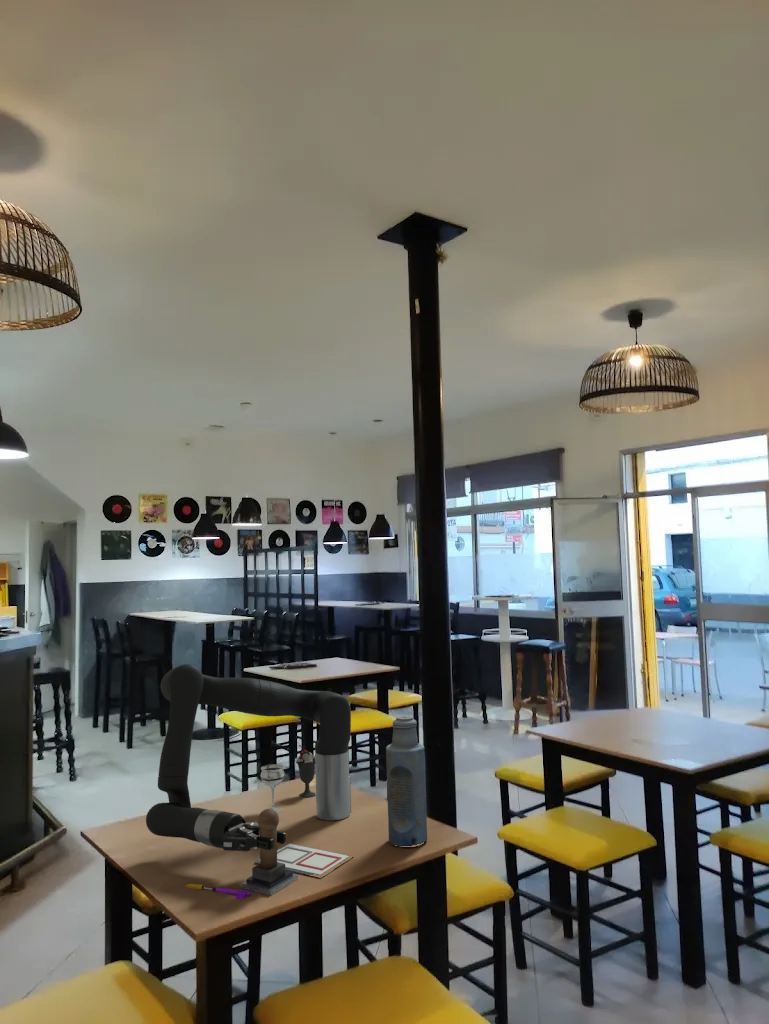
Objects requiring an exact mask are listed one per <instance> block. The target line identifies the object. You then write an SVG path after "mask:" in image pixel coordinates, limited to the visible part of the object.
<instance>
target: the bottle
mask: <svg viewBox="0 0 769 1024" xmlns="http://www.w3.org/2000/svg"><path fill="white" fill-rule="evenodd" d="M417 726H418V725H417V720H416V719H414V716H410V715H400V716H396V718H395V720H393V721H392V730H393V731H392V739H391V743H390V744H388V745H387V746H386V747H385V755H386V756H385V759H386V760H385V761H386V788H387V789H386V792H387V797H386V798H387V816H388V817H387V819H388V820H387V821H388V826H387V828H388V842H389V843H391V844H390V845H392V844H393V845H397V846H412V845H417V844H421V843H423V842H425V841H426V840H427V841H428V821H427V820H428V819H427V818H428V817H427V794H426V793H427V792H426V791H427V790H426V757H425V756H426V755H425V754H426V753H425V746H424V744H421V743H419V740H418V739H419V738H418V734H417V733H418V732H417ZM393 845H392V846H393Z"/></svg>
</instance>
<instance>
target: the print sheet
mask: <svg viewBox="0 0 769 1024" xmlns="http://www.w3.org/2000/svg"><path fill="white" fill-rule="evenodd" d="M347 855H349V854H345V853H340V852H335V851H329V850H324V849H321V848H314V847H310V846H305V845H300V844H296V843H291V842H289V843H287V844H285V845H284V846H281V847H280V848H277V862H280V863H284V864H285V870H288V871H292V872H293V874H297V875H298V874H299V875H303V874H307V875H313V874H316V875H322V874H323V873H325V872H326V871H328V870H330V869H331V868H333V867H334V866H336V865H337V864H339V863H340V864H341V862H342V861H345V859H347V858H348V857H350V856H351V855H349V856H347ZM254 864H255V865H259V864H260V859H257V860H256V861H254ZM307 875H306V876H307ZM320 877H321V876H320Z"/></svg>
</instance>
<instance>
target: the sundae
mask: <svg viewBox="0 0 769 1024" xmlns="http://www.w3.org/2000/svg"><path fill="white" fill-rule="evenodd" d="M298 747H300V749H301V750H300V752H299V756H298V757H297V760H296V761H295V764H297V766H298V773H299V779H300V781H301V782H303V784H304V785H305V786H304V787H305V788H304V791H303V792H301V793H299V797H300V798H313V797H316V792H313V791H311V790H310V783H312V782H313V780H314V779H315V778H314V777H315V771H316V765H315V756H314V755H313V753H312V752H310V751H308V750H306V749H305V748H304V747H303V746H302V744H299V745H298Z"/></svg>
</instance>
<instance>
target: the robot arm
mask: <svg viewBox="0 0 769 1024" xmlns="http://www.w3.org/2000/svg"><path fill="white" fill-rule="evenodd" d="M160 691H161V693H162V695H163V697H164V698H165V699H166V700H167V701H168V702H170V704H169V705H170V708H169V710H170V711H169V720H168V725H167V731H166V734H165V738H164V742H163V744H162V749H161V753H160V759H159V767H158V775H157V776H158V777H157V788H158V790H159V791H162V792H164V793H167V799H168V802H159V803H156V804H154V805H153V806H151V808H150V809H148V811H147V813H146V816H145V823H146V825H145V826H146V827H147V829H148V830H149V832H150V833H151V834H153V835H155V836H157V837H164V838H165V837H167V838H168V837H169V838H179V839H186V840H189V841H192V842H196V843H201V844H204V845H206V846H208V847H214V848H217V849H221V850H223V851H229V852H231V851H232V852H250V851H251V849H253V850H257V849H260V848H262V849H266V850H272V849H273V848H274V840H273V839H272V838H267V837H262V836H260V828H259V826H258V823H254V822H249V821H248V822H247V821H245V819H244V816H242V815H241V814H239V813H235V812H231V811H230V812H229V811H225V810H218V809H207V808H202V807H192V806H191V797H190V791H189V790H190V789H189V786H188V785H189V784H188V779H189V772H190V770H189V769H190V761H191V748H192V741H193V733H194V726H195V722H196V721H195V720H196V716H197V715H196V714H197V711H198V707H199V705H204V706H205V705H206V706H214V707H218V708H221V709H225V710H229V711H235V712H239V713H244V714H246V715H247V714H248V715H255V716H261V717H284V716H286V717H297V718H301V719H305V720H310V721H313V722H316V723H318V724H319V737H318V739H317V740H316V741H315V743H314V757H315V797H316V798H315V802H316V818H318V819H320V820H323V821H340V820H343V819H346V818H348V817H350V816H351V813H352V789H351V788H352V787H351V786H352V785H351V777H350V767H349V766H350V762H349V743H350V740H351V734H352V730H351V727H352V715H351V714H352V713H351V705H350V702H349V700H348V699H347V698H346V697H345V696H343V695H342V694H340V693H337V692H333V691H329V690H325V691H324V690H306V689H297V688H295V687H291V686H288V685H286V684H282V683H279V682H276V681H275V682H274V681H270V680H265V679H260V678H259V679H258V678H252V677H218V676H217V677H216V676H212V675H211V676H210V675H206V674H203V673H202V671H201V670H200V669H199V668H198V667H197V666H196V665H193V664H189V663H188V664H186V663H185V664H180V665H178V666H176V667H173V668H172V669H170V670H169V671H168V672H166V673H165V675H164V676H163V677H162V679H161V681H160ZM286 842H287V833H286V831H285V832H284V831H280V830H277V844H282V845H283V844H285V843H286Z"/></svg>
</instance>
